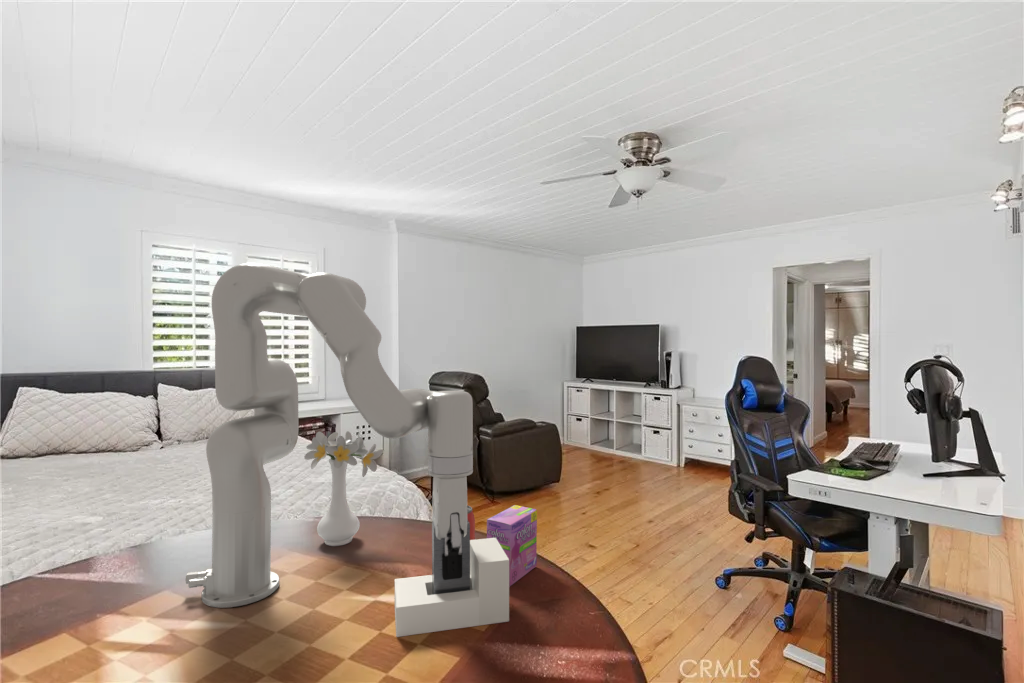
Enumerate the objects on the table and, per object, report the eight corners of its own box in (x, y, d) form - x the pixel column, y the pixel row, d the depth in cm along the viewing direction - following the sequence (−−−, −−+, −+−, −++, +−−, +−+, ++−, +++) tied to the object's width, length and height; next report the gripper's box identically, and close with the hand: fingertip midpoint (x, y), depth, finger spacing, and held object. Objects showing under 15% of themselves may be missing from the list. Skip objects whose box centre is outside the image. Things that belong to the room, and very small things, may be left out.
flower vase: (366, 554, 109) (367, 438, 109) (288, 549, 112) (289, 436, 112) (391, 533, 122) (391, 429, 122) (320, 528, 125) (321, 427, 125)
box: (510, 587, 94) (510, 524, 94) (485, 580, 97) (485, 518, 97) (537, 567, 103) (537, 509, 103) (513, 560, 106) (514, 504, 106)
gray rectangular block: (434, 600, 83) (433, 527, 83) (432, 592, 86) (432, 521, 86) (470, 596, 84) (469, 524, 85) (467, 587, 87) (466, 518, 87)
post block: (396, 636, 78) (396, 571, 78) (394, 605, 88) (394, 547, 88) (509, 621, 82) (509, 559, 83) (495, 592, 92) (495, 537, 92)
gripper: (424, 455, 92) (424, 556, 92) (433, 477, 77) (433, 599, 76) (464, 453, 94) (465, 552, 94) (481, 474, 78) (482, 593, 78)
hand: (450, 572), depth 85 cm, fingers closed on gray rectangular block, 3 cm apart
